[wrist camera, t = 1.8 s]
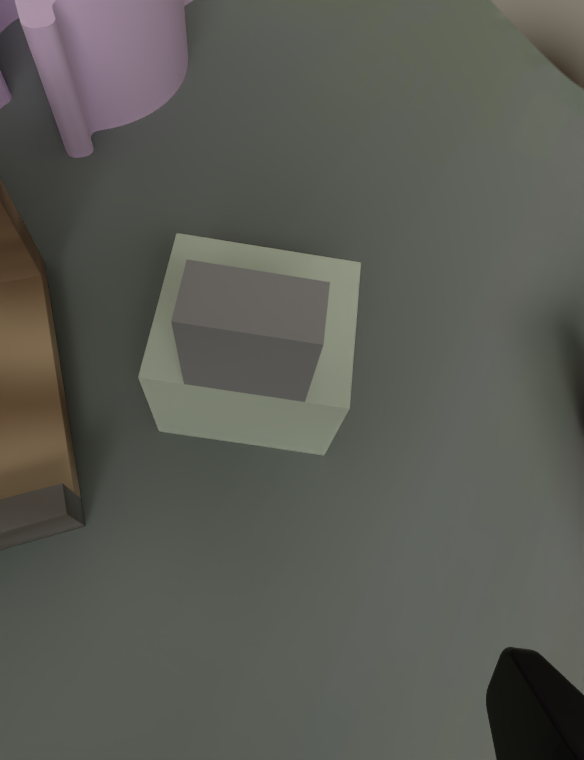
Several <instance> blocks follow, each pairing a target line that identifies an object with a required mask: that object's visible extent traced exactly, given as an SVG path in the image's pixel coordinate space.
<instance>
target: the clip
mask: <svg viewBox="0 0 584 760" xmlns="http://www.w3.org/2000/svg"><path fill="white" fill-rule="evenodd" d="M192 1H193V0H0V33H1V32H2V31H3V30H4V29H5V28H6V27H7V26H8V25H9V24H11V23H12V22H13V21H15V20H16V19H18V18H19V19H20V22H21V25H22V28H23V31H24V34H25V36H26V39H27V42H28V45H29V48H30V51H31V53H32V56H33V59H34V62H35V65H36V67H37V70H38V73H39V76H40V79H41V82H42V84H43V87H44V90H45V93H46V96H47V99H48V101H49V104H50V107H51V110H52V113H53V115H54V118H55V121H56V124H57V127H58V130H59V132H60V135H61V138H62V141H63V144H64V146H65V149H66V152H67V154H68V155H69V156H70V157H73V158H81V157H86V156H89V155H90V154H92V152H93V150H94V148H93V144H92V141H91V135H92V134H93V133H94V132H96V131H99V130H105V129H110V128H115V127H119V126H122V125H125V124H128V123H131V122H134V121H136V120H139V119H141V118H143V117H145V116H147V115H149V114H151V113H152V112H154V111H156V110H157V109H158V108H160V107H161V106H163V105H164V104H165V103H166V102H167V101H168V100H169V99H170V98H171V97H172V96H173V95H174V94H175V93H176V92H177V90H178V89H179V87H180V86H181V84H182V82H183V80H184V78H185V75H186V72H187V68H188V48H187V35H186V23H185V10H184V6H186V5H187V4H189V3H190V2H192ZM11 98H12V97H11V94H10V92H9V89H8V87H7V84H6V82H5V80H4V77H3V75H2V73H1V70H0V108H1V107H3V106H4V105H6V104H7V103H9V102H10V101H11Z"/></svg>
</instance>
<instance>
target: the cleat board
mask: <svg viewBox="0 0 584 760" xmlns="http://www.w3.org/2000/svg"><path fill="white" fill-rule="evenodd" d="M84 526H85V522H84V515H83V509H82V502H81V496H80V489H79V483H78V476H77V470H76V463H75V457H74V450H73V444H72V438H71V431H70V425H69V418H68V412H67V405H66V399H65V392H64V386H63V379H62V373H61V366H60V360H59V354H58V347H57V341H56V334H55V328H54V321H53V315H52V308H51V302H50V295H49V289H48V282H47V276H46V270H45V263H44V261H43V259H42V257H41V255H40V253H39V251H38V249H37V247H36V245H35V243H34V242H33V240H32V238H31V236H30V234H29V232H28V230H27V228H26V226H25V224H24V222H23V221H22V219H21V217H20V215H19V213H18V211H17V209H16V207H15V205H14V203H13V201H12V199H11V198H10V196H9V194H8V192H7V190H6V188H5V186H4V184H3V182H2V180H1V178H0V550H1V549H5V548H8V547H12V546H15V545H19V544H23V543H26V542H30V541H33V540H37V539H41V538H44V537H48V536H51V535H55V534H59V533H62V532H66V531H69V530H73V529H76V528H80V527H84Z"/></svg>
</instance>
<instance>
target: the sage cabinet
mask: <svg viewBox="0 0 584 760" xmlns="http://www.w3.org/2000/svg"><path fill="white" fill-rule="evenodd" d="M360 269H361V263H360V262H354V261H348V260H342V259H336V258H329V257H323V256H317V255H311V254H304V253H298V252H292V251H286V250H279V249H273V248H267V247H261V246H254V245H248V244H242V243H236V242H229V241H223V240H217V239H211V238H204V237H198V236H192V235H186V234H179V233H176V237H175V241H174V245H173V248H172V252H171V256H170V260H169V263H168V267H167V271H166V275H165V278H164V282H163V286H162V290H161V293H160V297H159V301H158V305H157V308H156V312H155V316H154V320H153V323H152V327H151V331H150V335H149V338H148V342H147V346H146V350H145V353H144V357H143V361H142V365H141V368H140V372H139V376H138V378H139V381H140V383H141V386H142V389H143V391H144V394H145V396H146V399H147V401H148V404H149V407H150V409H151V412H152V414H153V417H154V419H155V422H156V425H157V427H158V430H159V431H160V432H167V433H174V434H180V435H187V436H194V437H201V438H208V439H215V440H222V441H229V442H236V443H243V444H249V445H256V446H263V447H270V448H277V449H284V450H291V451H298V452H305V453H312V454H319V455H325V453H326V451H327V449H328V447H329V446H330V444H331V442H332V440H333V438H334V436H335V435H336V433H337V431H338V429H339V427H340V425H341V424H342V422H343V420H344V418H345V416H346V414H347V413H348V411H349V409H350V397H351V384H352V371H353V359H354V346H355V333H356V320H357V307H358V294H359V281H360Z"/></svg>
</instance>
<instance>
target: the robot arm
mask: <svg viewBox="0 0 584 760" xmlns="http://www.w3.org/2000/svg"><path fill="white" fill-rule="evenodd" d="M486 707H487V713H488V718H489V723H490V728H491V733H492V738H493V743H494V749H495V754H496V759H497V760H584V695H583V694H582V693H581V692H580V691H579V690H578V689H577V688H576V687H575V686H574V685H572V684H571V683H570V682H569V681H568V680H567V679H566V678H565V677H564V676H563V675H562V674H561V673H560V672H559V671H558V670H557V669H556V668H554V667H553V666H552V665H551V664H550V663H549V662H548V661H547V660H546V659H545V658H544V657H543V656H542V655H540V654H539V653H538V652H536V651H534V650H530V649H522V648H514V647H508V648H505V649H504V650H503V651H502V653H501V655H500V657H499V660H498V662H497V665H496V667H495V670H494V673H493V675H492V678H491V680H490V683H489V686H488V689H487V694H486Z"/></svg>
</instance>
